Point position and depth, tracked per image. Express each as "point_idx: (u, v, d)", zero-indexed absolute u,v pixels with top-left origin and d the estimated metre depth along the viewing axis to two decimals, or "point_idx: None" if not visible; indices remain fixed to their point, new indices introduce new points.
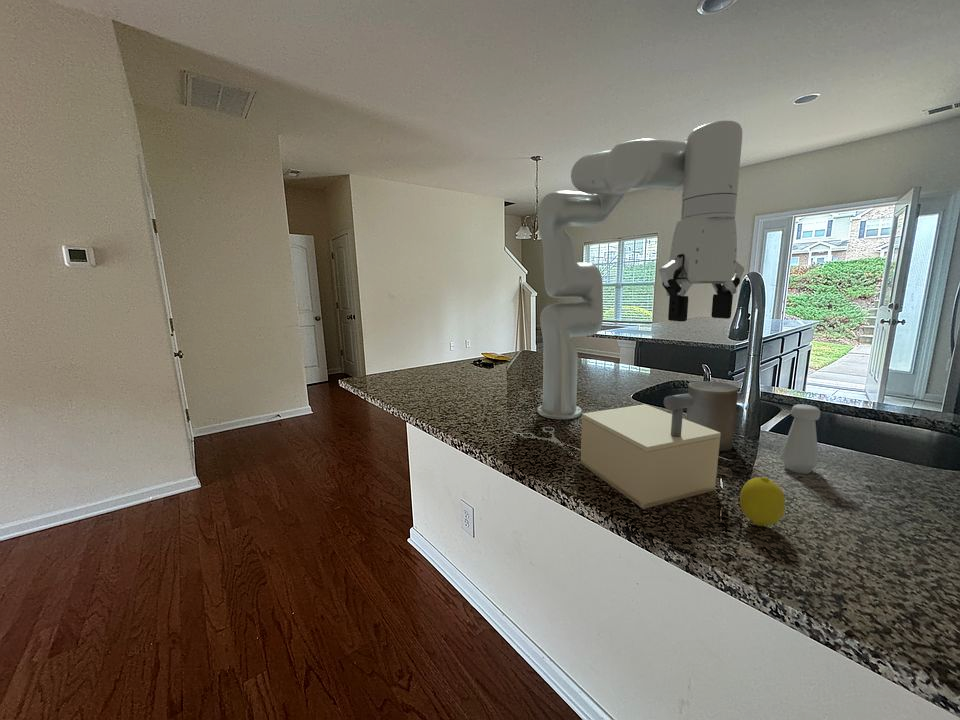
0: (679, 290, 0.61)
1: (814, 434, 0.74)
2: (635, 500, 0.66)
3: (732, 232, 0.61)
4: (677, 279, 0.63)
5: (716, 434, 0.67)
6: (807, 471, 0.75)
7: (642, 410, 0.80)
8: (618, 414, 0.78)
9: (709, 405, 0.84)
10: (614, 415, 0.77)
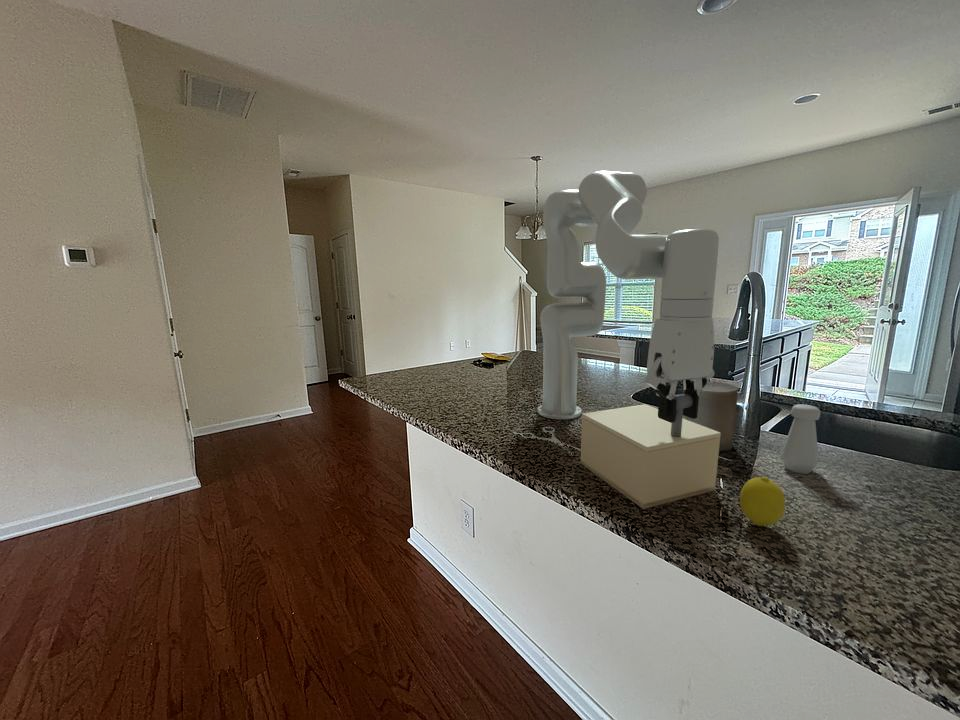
0: (667, 396, 0.63)
1: (814, 434, 0.74)
2: (635, 500, 0.66)
3: (709, 331, 0.62)
4: None
5: (716, 434, 0.67)
6: (807, 471, 0.75)
7: (642, 410, 0.80)
8: (618, 414, 0.78)
9: (709, 405, 0.84)
10: (614, 415, 0.77)
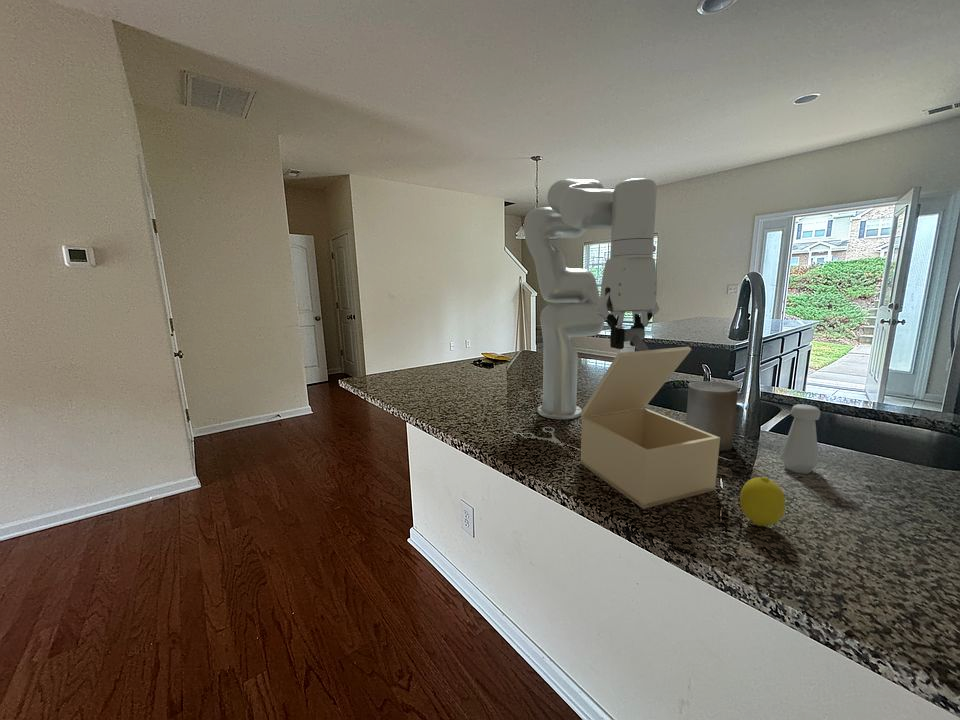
0: (616, 325, 0.74)
1: (814, 434, 0.74)
2: (635, 500, 0.66)
3: (651, 269, 0.73)
4: None
5: (685, 347, 0.72)
6: (807, 471, 0.75)
7: None
8: None
9: (709, 405, 0.84)
10: None
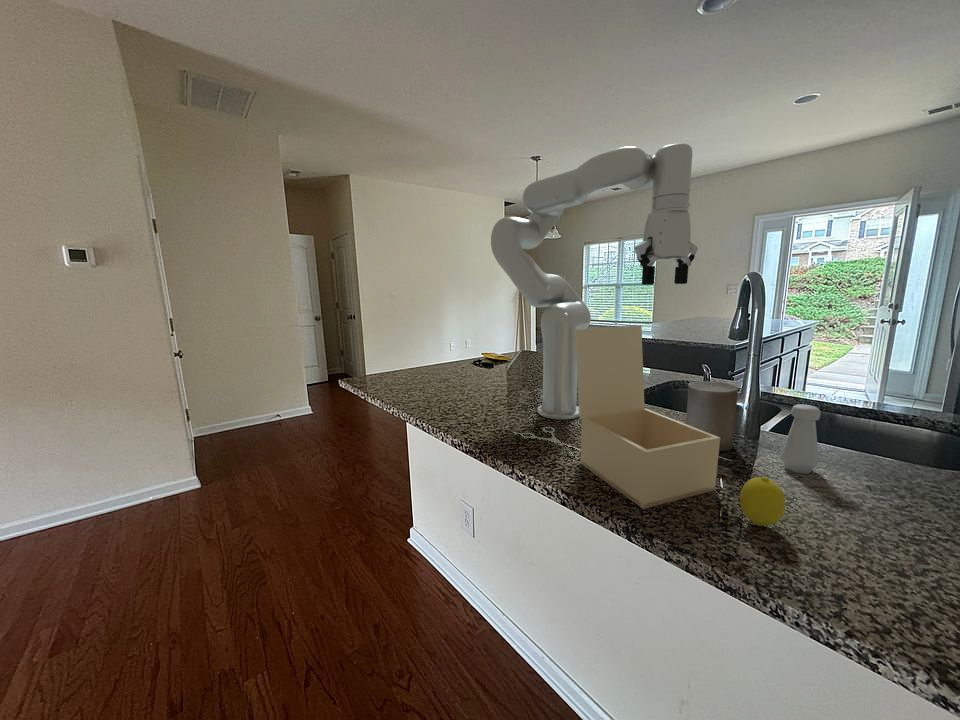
0: (648, 262, 0.87)
1: (814, 434, 0.74)
2: (635, 500, 0.66)
3: (686, 221, 0.87)
4: (648, 255, 0.89)
5: None
6: (807, 471, 0.75)
7: None
8: None
9: (709, 405, 0.84)
10: None
